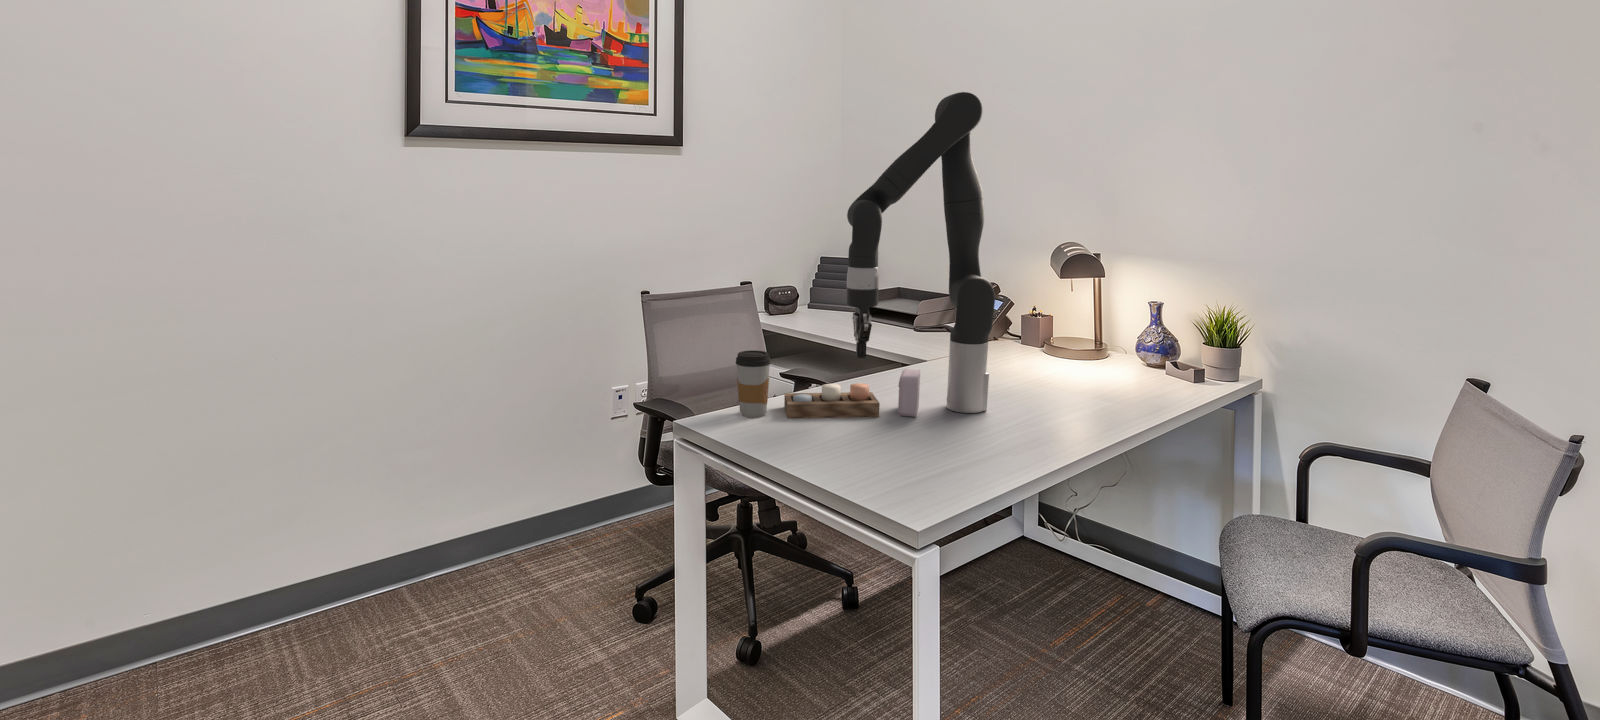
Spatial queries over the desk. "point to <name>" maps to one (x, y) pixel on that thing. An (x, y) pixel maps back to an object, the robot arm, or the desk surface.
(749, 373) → the coffee cup
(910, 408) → the electronic device
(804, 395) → the light blue rounded block
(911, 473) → the desk surface
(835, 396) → the cream key
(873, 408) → the brown wooden tray
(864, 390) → the pink rounded block
